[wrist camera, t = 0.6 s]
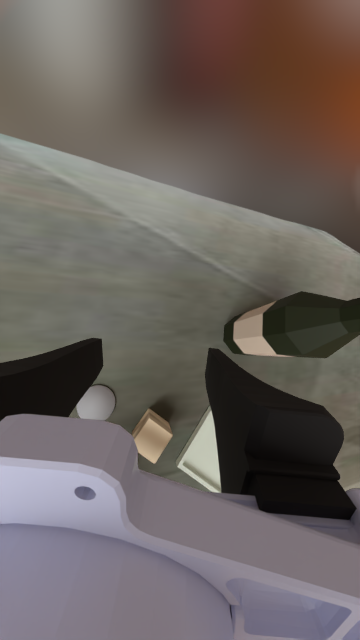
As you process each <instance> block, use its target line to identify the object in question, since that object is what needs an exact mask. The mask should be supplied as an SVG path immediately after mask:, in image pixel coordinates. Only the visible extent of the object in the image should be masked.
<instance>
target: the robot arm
mask: <svg viewBox="0 0 360 640" xmlns="http://www.w3.org/2000/svg"><path fill="white" fill-rule="evenodd" d="M102 367H103V353H102V339H98V338H90V339H86V340H83V341H80V342H77V343H74V344H71V345H68V346H65V347H63V348H59V349H56V350H53V351H50V352H47V353H43V354H40V355H36V356H32V357H28V358H24V359H19V360H14V361H9V362H4V363H0V640H360V489H359V488H354V489H349V490H347V491H346V492H345V491H344V489H343V488H342V486H341V485H340V484H339V482H338V481H337V480H339V479H340V474H339V473H338V471H337V470H336V469H335V467H334V466H333V463H334V461H335V459H336V457H337V455H338V453H339V451H340V449H341V447H342V444H343V440H344V431H343V429H342V427H341V425H340V424H339V423H338V422H337V421H336V419H335V418H334V417H333V416H332V415H331V414H330V413H329V412H328V411H327V410H326V409H325V408H324V407H323V406H321V405H318V404H315V403H312V402H309V401H306V400H303V399H301V398H298V397H295V396H293V395H290V394H288V393H285V392H283V391H281V390H278V389H276V388H274V387H272V386H270V385H268V384H266V383H264V382H262V381H261V380H259V379H257V378H256V377H254V376H252V375H251V374H249V373H248V372H246V371H245V370H244V369H242V368H241V367H239V366H238V365H237V364H236V363H234V362H233V361H232V360H231V359H230V358H228V357H227V356H226V355H225V354H224V353H223V352H222V351H220V350H219V349H214V348H209V351H208V358H207V365H206V372H205V379H206V389H207V393H208V398H209V402H210V407H211V411H212V416H213V420H214V426H215V434H216V443H217V452H218V461H219V472H220V483H221V493H217V492H205V491H202V490H199V489H196V488H193V487H190V486H187V485H184V484H181V483H178V482H175V481H172V480H169V479H166V478H163V477H160V476H158V475H155V474H152V473H149V472H146V471H143V470H140V469H139V468H138V449H137V446H136V443H135V441H134V438H133V436H132V435H131V434H130V433H129V432H127V431H126V430H125V429H124V428H123V427H121V426H120V425H118V424H114V423H111V422H107V421H104V420H93V419H81V418H70V417H69V415H70V413H71V412H72V411H73V409H74V408H75V406H76V405H77V404H78V402H79V401H80V400H81V398H82V397H83V396H84V394H85V393H86V392H87V390H88V389H89V388H90V386H91V385H92V384H93V382H94V381H95V379H96V378H97V376H98V375H99V373H100V371H101V369H102Z"/></svg>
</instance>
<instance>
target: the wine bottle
mask: <svg viewBox="0 0 360 640" xmlns="http://www.w3.org/2000/svg"><path fill="white" fill-rule="evenodd" d="M358 335H360V298H357V299H353V300H349V301H345V300H341V299H336V298H332V297H327V296H323V295H318V294H313V293H308V292H303V291H301V292H298V293H296V294H293V295H291V296H288V297H285V298H283V299H280V300H277V301H275V302H272V303H270V304H267V305H264V306H262V307H259V308H257V309H254V310H251V311H249V312H246V313H244V314H241V315H238V316H236V317H234V318H233V319H232V320H231V321H229V322H228V323H227V324H226V325H225V326H224V342H225V343H226V345H227V346H228V347H229V349H230V350H231V351H232V352H233V353H235V354H243V355H259V356H285V357H310V358H327V357H329V356H330V355H332V354H333V353H334V352H336V351H337V350H339V349H340V348H341V347H343V346H344V345H346V344H347V343H349V342H350V341H351V340H353V339H354V338H356V337H357V336H358Z"/></svg>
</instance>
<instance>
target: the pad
mask: <svg viewBox="0 0 360 640" xmlns="http://www.w3.org/2000/svg"><path fill="white" fill-rule="evenodd" d="M114 407H115V397H114V394H113V392H112V391H111V390H110V389H109V388H107V387H105V386H102V385H95V386H92V387H90V388H89V389H88V390H87V392H86V393H85V394H84V396H83V397H82V398H81V400H80V401H79V402H78V404H77V412H78V415H79V416H80V418H81V419H93V420H106V419H107V418H108V417H109V416H110V415H111V413H112V412H113V410H114Z"/></svg>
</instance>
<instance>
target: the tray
mask: <svg viewBox="0 0 360 640" xmlns="http://www.w3.org/2000/svg"><path fill="white" fill-rule="evenodd" d="M176 464H177V467H179V468H180V469H181V470H183V471H184V472H186V473H187V474H188V475H190V476H191V477H192V478H194V479H195V480H197V481H198V482H199V483H201V484H202V485H204V486H205V487H206V488H208V489H209V490H210V491H212V492H217V493H221V483H220V472H219V461H218V452H217V443H216V434H215V426H214V420H213V416H212V411H211V407H210V406H209V407H208V409H207V411H206V412H205V414H204V416H203V417H202V419H201V420H200V422H199V424H198V425H197V427H196V429H195V430H194V432H193V434H192V435H191V437H190V439H189V440H188V442H187V444H186V445H185V447H184V448H183V450H182V452H181V453H180V455H179V457H178V458H177V460H176Z"/></svg>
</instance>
